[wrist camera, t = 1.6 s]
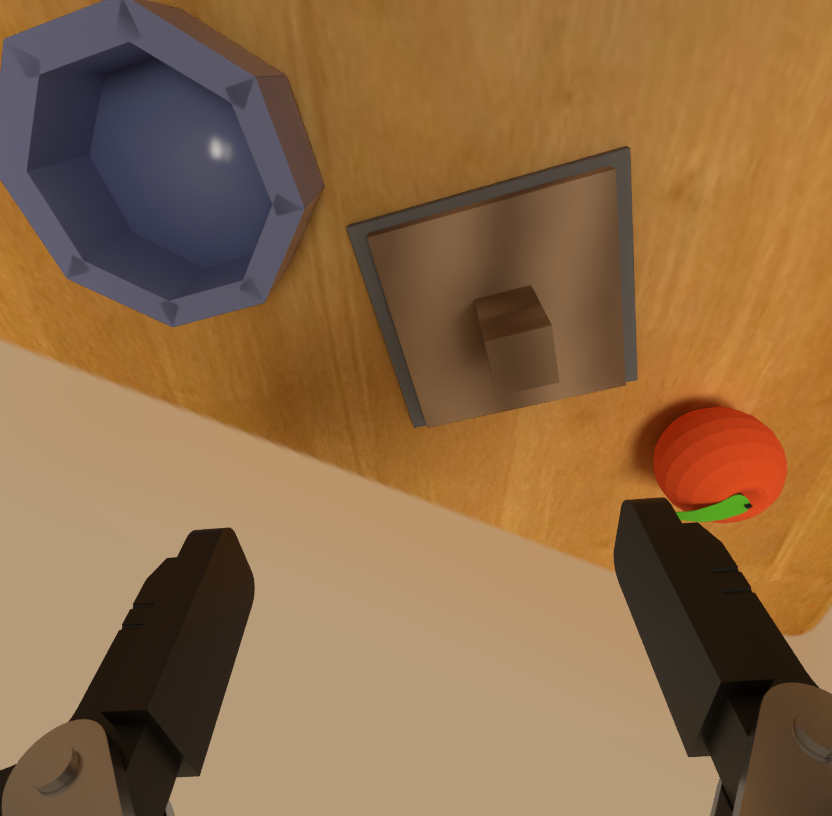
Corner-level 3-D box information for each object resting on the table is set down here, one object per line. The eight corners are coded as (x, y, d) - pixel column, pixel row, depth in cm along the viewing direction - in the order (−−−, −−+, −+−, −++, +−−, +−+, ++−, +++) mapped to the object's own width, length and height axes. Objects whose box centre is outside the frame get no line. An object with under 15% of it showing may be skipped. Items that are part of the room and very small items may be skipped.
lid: (608, 165, 24) (658, 190, 19) (620, 376, 30) (659, 436, 25) (368, 232, 26) (356, 271, 21) (427, 418, 32) (428, 482, 27)
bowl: (256, -17, 21) (211, -42, 16) (347, 247, 27) (333, 284, 22) (26, 69, 22) (-75, 68, 18) (160, 299, 28) (110, 343, 24)
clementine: (640, 489, 36) (683, 571, 30) (606, 423, 33) (646, 499, 27) (756, 443, 34) (827, 522, 28) (732, 367, 31) (807, 437, 25)
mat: (625, 146, 24) (630, 147, 24) (633, 374, 31) (637, 379, 31) (348, 225, 26) (346, 228, 26) (414, 422, 33) (414, 428, 33)
